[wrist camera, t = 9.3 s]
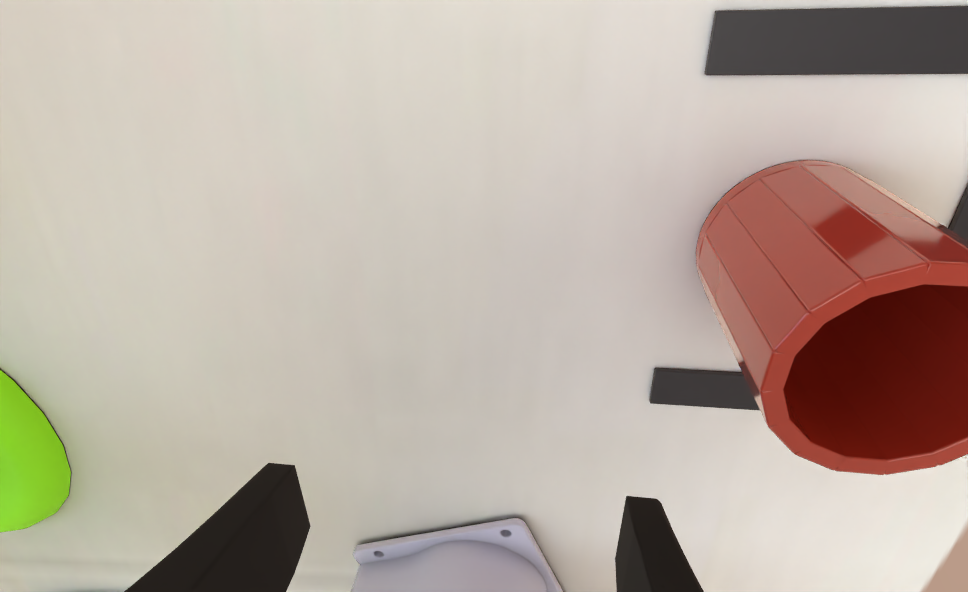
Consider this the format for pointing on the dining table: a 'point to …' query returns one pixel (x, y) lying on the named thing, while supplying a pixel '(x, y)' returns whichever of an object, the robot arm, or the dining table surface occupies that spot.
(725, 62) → the tape bay
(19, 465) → the wineglass
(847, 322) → the tumbler
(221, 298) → the dining table surface
